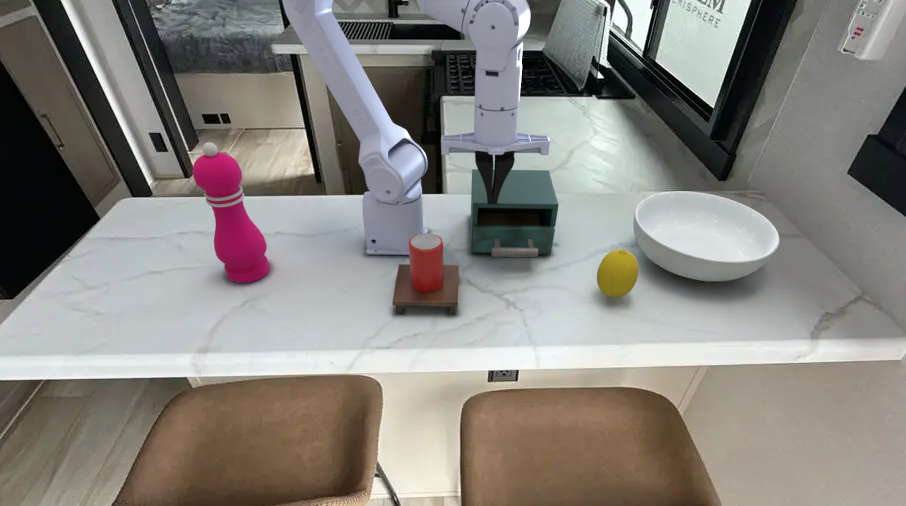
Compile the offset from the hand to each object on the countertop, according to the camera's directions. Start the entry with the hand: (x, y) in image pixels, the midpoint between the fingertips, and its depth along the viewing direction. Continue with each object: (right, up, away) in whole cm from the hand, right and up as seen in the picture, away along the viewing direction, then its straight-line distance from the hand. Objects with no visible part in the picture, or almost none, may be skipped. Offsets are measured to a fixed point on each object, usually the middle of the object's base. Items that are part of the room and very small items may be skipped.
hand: (492, 201), depth 75 cm
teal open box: (+4, -2, +13) cm, 14 cm away
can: (-9, -12, -2) cm, 15 cm away
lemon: (+17, -14, 0) cm, 22 cm away
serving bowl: (+33, -8, +8) cm, 34 cm away
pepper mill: (-37, -10, +4) cm, 39 cm away
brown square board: (-10, -14, 0) cm, 17 cm away
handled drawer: (+4, -4, +10) cm, 11 cm away
